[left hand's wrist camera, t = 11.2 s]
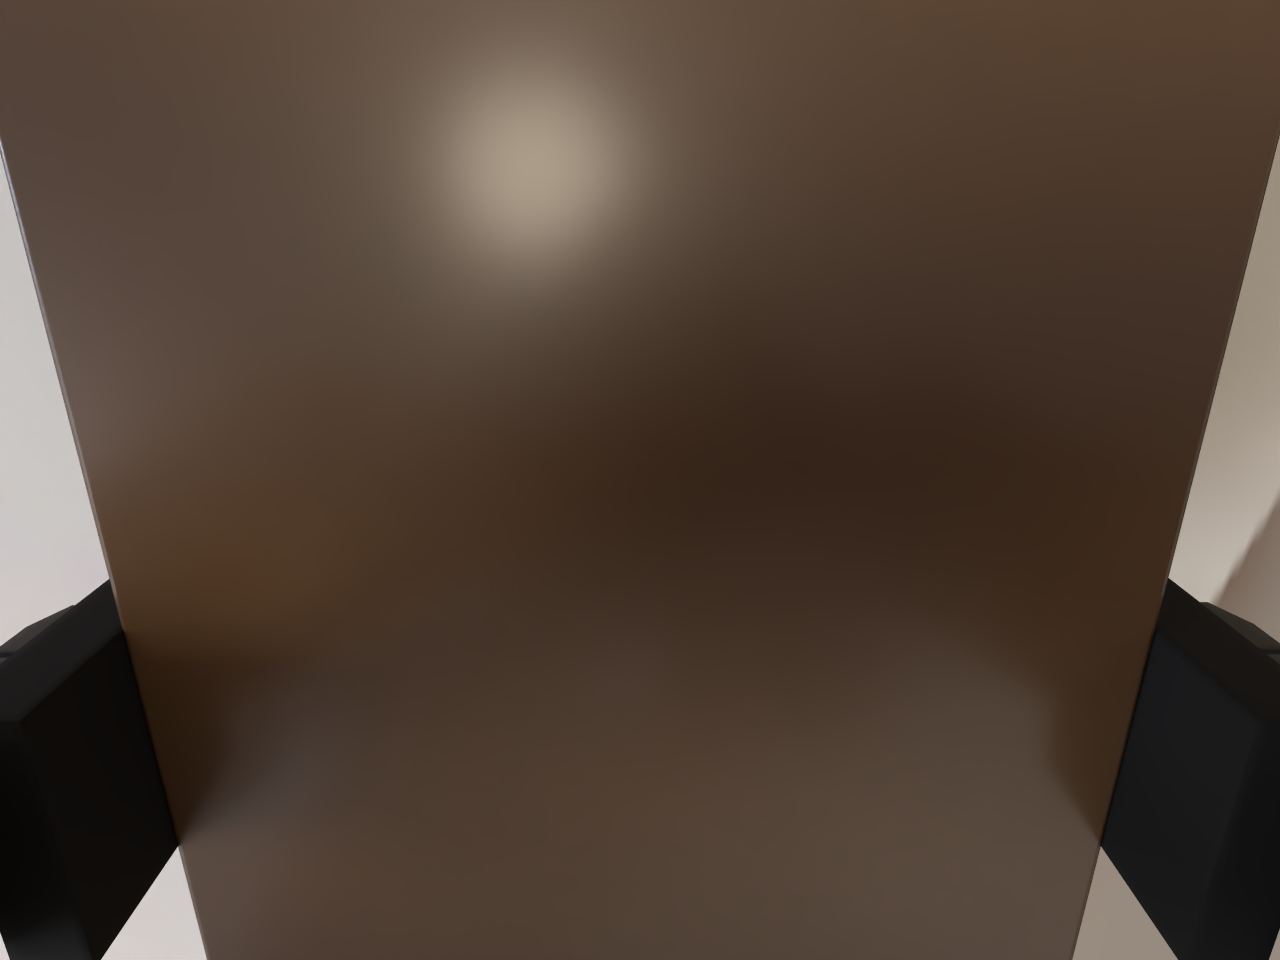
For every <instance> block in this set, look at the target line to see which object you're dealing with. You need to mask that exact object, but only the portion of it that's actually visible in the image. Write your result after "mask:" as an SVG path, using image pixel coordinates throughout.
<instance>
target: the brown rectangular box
mask: <svg viewBox="0 0 1280 960" xmlns="http://www.w3.org/2000/svg"><path fill="white" fill-rule="evenodd" d="M1279 135H1280V0H0V153H1V157H2V161H3V165H4V169H5V173H6V177H7V181H8V184H9V188H10V192H11V196H12V200H13V204H14V208H15V212H16V216H17V220H18V223H19V227H20V231H21V235H22V239H23V243H24V247H25V251H26V255H27V259H28V262H29V266H30V270H31V274H32V278H33V282H34V286H35V290H36V294H37V298H38V301H39V305H40V309H41V313H42V317H43V321H44V325H45V329H46V333H47V337H48V340H49V344H50V348H51V352H52V356H53V360H54V364H55V368H56V372H57V376H58V379H59V383H60V387H61V391H62V395H63V399H64V403H65V407H66V411H67V415H68V418H69V422H70V426H71V430H72V434H73V438H74V442H75V446H76V450H77V454H78V457H79V461H80V465H81V469H82V473H83V477H84V481H85V485H86V489H87V493H88V496H89V500H90V504H91V508H92V512H93V516H94V520H95V524H96V528H97V532H98V535H99V539H100V543H101V547H102V551H103V555H104V559H105V563H106V567H107V571H108V574H109V578H110V582H111V586H112V590H113V594H114V598H115V602H116V606H117V610H118V613H119V617H120V621H121V625H122V629H123V633H124V637H125V641H126V645H127V649H128V652H129V656H130V660H131V664H132V668H133V672H134V676H135V680H136V684H137V688H138V691H139V695H140V699H141V703H142V707H143V711H144V715H145V719H146V723H147V727H148V730H149V734H150V738H151V742H152V746H153V750H154V754H155V758H156V762H157V766H158V769H159V773H160V777H161V781H162V785H163V789H164V793H165V797H166V801H167V805H168V808H169V812H170V816H171V820H172V824H173V828H174V832H175V836H176V840H177V844H178V847H179V851H180V855H181V859H182V863H183V867H184V871H185V875H186V879H187V883H188V886H189V890H190V894H191V898H192V902H193V906H194V910H195V914H196V918H197V922H198V925H199V929H200V933H201V937H202V941H203V945H204V949H205V953H206V957H207V960H1072V958H1073V954H1074V950H1075V946H1076V942H1077V938H1078V934H1079V930H1080V926H1081V922H1082V918H1083V914H1084V910H1085V906H1086V902H1087V898H1088V894H1089V891H1090V887H1091V883H1092V879H1093V874H1094V870H1095V867H1096V863H1097V859H1098V855H1099V851H1100V847H1101V843H1102V839H1103V835H1104V831H1105V827H1106V823H1107V819H1108V815H1109V811H1110V807H1111V803H1112V799H1113V795H1114V791H1115V787H1116V783H1117V779H1118V775H1119V771H1120V767H1121V763H1122V759H1123V755H1124V751H1125V747H1126V743H1127V739H1128V735H1129V732H1130V728H1131V724H1132V720H1133V716H1134V712H1135V708H1136V704H1137V700H1138V696H1139V692H1140V688H1141V684H1142V680H1143V676H1144V672H1145V668H1146V664H1147V660H1148V656H1149V652H1150V648H1151V644H1152V640H1153V636H1154V632H1155V628H1156V624H1157V620H1158V616H1159V612H1160V608H1161V604H1162V600H1163V596H1164V592H1165V588H1166V584H1167V580H1168V576H1169V573H1170V569H1171V565H1172V561H1173V557H1174V553H1175V549H1176V545H1177V541H1178V537H1179V533H1180V529H1181V525H1182V521H1183V517H1184V513H1185V509H1186V505H1187V501H1188V497H1189V493H1190V489H1191V485H1192V481H1193V477H1194V473H1195V469H1196V465H1197V461H1198V457H1199V453H1200V449H1201V445H1202V441H1203V437H1204V433H1205V429H1206V425H1207V421H1208V417H1209V414H1210V410H1211V406H1212V402H1213V398H1214V394H1215V390H1216V386H1217V382H1218V378H1219V374H1220V370H1221V366H1222V362H1223V358H1224V354H1225V350H1226V346H1227V342H1228V338H1229V334H1230V330H1231V326H1232V322H1233V318H1234V314H1235V310H1236V306H1237V302H1238V298H1239V294H1240V290H1241V286H1242V282H1243V278H1244V274H1245V270H1246V266H1247V262H1248V258H1249V255H1250V251H1251V247H1252V243H1253V239H1254V235H1255V231H1256V227H1257V223H1258V219H1259V215H1260V211H1261V207H1262V203H1263V199H1264V195H1265V191H1266V187H1267V183H1268V179H1269V175H1270V171H1271V167H1272V163H1273V159H1274V155H1275V151H1276V147H1277V143H1278V139H1279Z"/></svg>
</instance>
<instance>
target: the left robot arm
mask: <svg viewBox="0 0 1280 960" xmlns="http://www.w3.org/2000/svg"><path fill="white" fill-rule="evenodd" d="M177 847H178V844H177V840H176V836H175V832H174V828H173V824H172V820H171V816H170V812H169V808H168V805H167V801H166V797H165V793H164V789H163V785H162V781H161V777H160V773H159V769H158V766H157V762H156V758H155V754H154V750H153V746H152V742H151V738H150V734H149V730H148V727H147V723H146V719H145V715H144V711H143V707H142V703H141V699H140V695H139V691H138V688H137V684H136V680H135V676H134V672H133V668H132V664H131V660H130V656H129V652H128V649H127V645H126V641H125V637H124V633H123V629H122V625H121V621H120V617H119V613H118V610H117V606H116V602H115V598H114V594H113V590H112V586H111V582H110V579H109V580H107V581H106V582H105V583H103V584H102V585H101V586H100V587H98V588H97V589H96V590H94V591H93V592H92V593H90V594H89V595H88V596H87V597H85V598H84V599H83V600H81V601H80V602H79V603H78V604H76V605H72V606H70V607H68V608H66V609H63V610H61V611H59V612H57V613H55V614H53V615H51V616H49V617H47V618H44V619H42V620H40V621H38V622H36V623H34V624H32V625H30V626H28V627H26V628H24V629H23V630H22V631H20V632H19V633H18V634H16V635H15V636H14V637H12V638H11V639H10V640H8V641H7V642H6V643H4V644H3V645H2V646H0V933H1V936H2V938H3V941H4V944H5V947H6V950H7V953H8V955H9V958H10V960H101V959H102V957H103V956H104V954H105V953H106V951H107V950H108V948H109V947H110V945H111V944H112V942H113V941H114V940H115V938H116V937H117V935H118V934H119V932H120V931H121V929H122V928H123V926H124V925H125V923H126V922H127V920H128V919H129V917H130V916H131V914H132V913H133V912H134V910H135V909H136V907H137V906H138V904H139V903H140V901H141V900H142V898H143V897H144V895H145V894H146V892H147V891H148V889H149V888H150V887H151V885H152V884H153V882H154V881H155V879H156V878H157V876H158V875H159V873H160V872H161V870H162V869H163V867H164V866H165V864H166V863H167V862H168V860H169V859H170V857H171V856H172V854H173V853H174V851H175V850H176V848H177ZM1101 847H1102V848H1103V850H1104V851H1105V853H1106V854H1107V856H1108V857H1109V859H1110V860H1111V861H1112V863H1113V864H1114V866H1115V867H1116V869H1117V870H1118V872H1119V873H1120V875H1121V876H1122V878H1123V879H1124V881H1125V882H1126V884H1127V885H1128V886H1129V888H1130V889H1131V891H1132V892H1133V894H1134V895H1135V897H1136V898H1137V900H1138V901H1139V903H1140V904H1141V906H1142V907H1143V909H1144V910H1145V912H1146V913H1147V914H1148V916H1149V917H1150V919H1151V920H1152V922H1153V923H1154V925H1155V926H1156V928H1157V929H1158V930H1159V932H1160V934H1161V935H1162V937H1163V938H1164V939H1165V941H1166V942H1167V944H1168V945H1169V947H1170V948H1171V950H1172V951H1173V953H1174V954H1175V956H1176V957H1177V959H1178V960H1269V957H1270V955H1271V952H1272V949H1273V946H1274V943H1275V940H1276V938H1277V935H1278V932H1279V929H1280V643H1279V642H1277V641H1276V640H1275V639H1273V638H1272V637H1270V636H1269V635H1268V634H1266V633H1265V632H1264V631H1262V630H1261V629H1260V628H1258V627H1257V626H1256V625H1254V624H1253V623H1251V622H1248V621H1246V620H1244V619H1242V618H1240V617H1238V616H1236V615H1233V614H1231V613H1229V612H1227V611H1225V610H1223V609H1221V608H1219V607H1217V606H1214V605H1212V604H1210V603H1208V602H1199V601H1197V600H1196V599H1195V598H1194V597H1192V596H1191V595H1190V594H1188V593H1187V592H1186V591H1185V590H1183V589H1182V588H1181V587H1179V586H1178V585H1177V584H1176V583H1174V582H1173V581H1172V580H1170V579H1169V578H1168V580H1167V584H1166V588H1165V592H1164V596H1163V600H1162V604H1161V608H1160V612H1159V616H1158V620H1157V624H1156V628H1155V632H1154V636H1153V640H1152V644H1151V648H1150V652H1149V656H1148V660H1147V664H1146V668H1145V672H1144V676H1143V680H1142V684H1141V688H1140V692H1139V696H1138V700H1137V704H1136V708H1135V712H1134V716H1133V720H1132V724H1131V728H1130V732H1129V735H1128V739H1127V743H1126V747H1125V751H1124V755H1123V759H1122V763H1121V767H1120V771H1119V775H1118V779H1117V783H1116V787H1115V791H1114V795H1113V799H1112V803H1111V807H1110V811H1109V815H1108V819H1107V823H1106V827H1105V831H1104V835H1103V839H1102V843H1101Z"/></svg>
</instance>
